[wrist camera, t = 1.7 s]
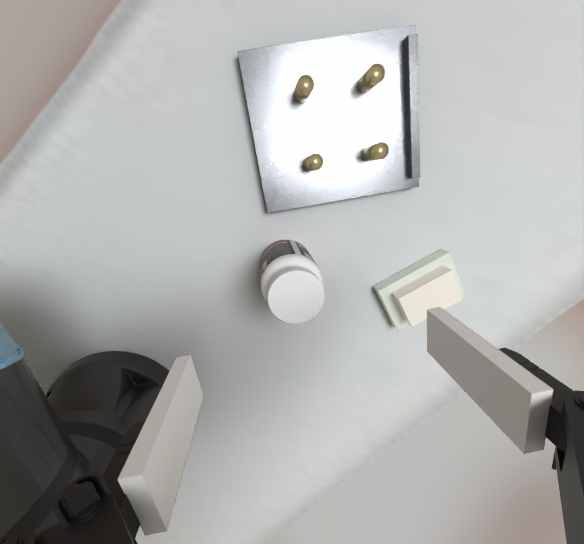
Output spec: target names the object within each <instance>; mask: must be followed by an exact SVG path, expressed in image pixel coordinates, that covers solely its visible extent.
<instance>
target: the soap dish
mask: <svg viewBox="0 0 584 544" xmlns="http://www.w3.org/2000/svg"><path fill="white" fill-rule="evenodd" d="M373 287H374V289H375V291H376V293H377V295H378V297H379V299H380V301H381V303H382V305H383V307H384V309H385V311H386V313H387V315H388V317H389V319H390V321H391V323H392V325H393V326H394V327H395V328H396V330H397V331H398V330H400V329H402V328H404V327H406V326H408V325H411V326H414V325H416V324H418V323H420V322H421V321H423V320H425V319H427V309H431V308H437V307H441V308H442V309H446V308H448V307H450V306H451V305H453V304H455V303H457V302H459V301H461V300H463V298H462V296H464V295H466V294H465V291H464V289H463V286H462V283H461V281H460V278H459V275H458V273H457V270H456V267H455V265H454V262H453V259H452V257H451V254H450V252H448V251H446V250H443V249H440V250H438V251H436V252H435V253H433V254H431V255H429V256H427V257H425V258H424V259H422V260H420V261H418V262H416V263H415V264H413V265H411V266H409V267H407V268H405V269H404V270H402V271H400V272H398V273H396V274H394V275H393V276H391V277H389V278H387V279H385V280H384V281H382V282H380V283H378V284H376V285H374V286H373Z"/></svg>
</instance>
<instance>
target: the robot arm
mask: <svg viewBox="0 0 584 544" xmlns="http://www.w3.org/2000/svg"><path fill="white" fill-rule="evenodd" d="M427 352H428V353H429V354H430V355H431V356H432V357H433V358H434V359H435V360H436V361H437V362H438V363H439V364H440V365H441V367H442V368H443V369H444V370H445V371H446V372H447V373H448V374H449V375H450V376H451V377H452V378H453V379H454V380H455V381H456V382H457V383H458V385H459V386H460V387H461V388H462V389H463V390H464V391H465V392H466V393H467V394H468V395H469V396H470V397H471V398H472V399H473V400H474V401H475V403H477V405H478V406H479V407H480V408H481V409H482V410H483V411H484V412H485V413H486V414H487V415H488V416H489V417H490V418H491V419H492V421H493V422H495V424H496V425H497V426H498V427H499V428H500V429H501V430H502V431H503V432H504V433H505V434H506V435H507V436H508V437H509V438H510V440H511V441H513V443H514V444H515V445H516V446H517V447H518V448H519V449H520V450H521V451H522V452H523V453H524V454H525V453H530V452H535V451H540V450H544V445H545V439H546V437H547V438H548V439H549V440H550V441H551V442H552V443H553V444H554V445H555V446H556V448H555V453H554V459H553V464H552V469H555V470H556V468H557V475H558V482H559V489H560V497H561V504H562V511H563V519H564V526H565V533H566V540H567V544H584V391H573V390H571V389H570V388H569V387H567V386H566V385H564V384H563V383H561V382H560V381H558V380H557V379H555V378H554V377H552V376H551V375H550V374H548V373H547V372H545V371H544V370H542V369H539V367H538V366H536V365H535V364H534V363H532V362H530V361H529V360H528V359H526V358H525V357H523V356H522V355H521V354H519V353H517V352H514V351H512V350H509V349H507V348H501V349H497V348H496V347H495V346H493V345H492V344H490V343H489V342H488V341H486V340H485V339H484V338H482V337H481V336H480V335H478V334H477V333H475V332H474V331H473V330H471V329H470V328H469V327H467V326H466V325H464V324H463V323H462V322H460V321H459V320H458V319H456V318H455V317H453V316H452V315H451V314H449V313H448V312H447V311H445V310H444V309H442V308H441V307H437V308H431V309H427ZM24 354H25V351H24V349H23V347H22V346H20V345H18V344H17V343H15V342H14V341H13V339H12V338H11V336H10V335H9V333H8V332H7V330H6V329H5V327H4V326H3V324H2V323H1V321H0V544H137V542H136V540H135V537H136V534H137V531H138V528H139V526H141V528H142V530H143V532H144V534H145V535H150V534H154V533H159V532H164V531H167V529H168V525H169V522H170V518H171V514H172V511H173V507H174V503H175V500H176V496H177V492H178V489H179V485H180V481H181V478H182V474H183V470H184V467H185V463H186V459H187V456H188V452H189V448H190V445H191V441H192V437H193V434H194V430H195V426H196V423H197V419H198V415H199V411H200V408H201V404H202V400H203V397H204V395H203V392H202V389H201V386H200V383H199V380H198V376H197V373H196V370H195V367H194V364H193V361H192V358H191V355H187V356H182V357H177V358H176V359H175V361H174V363H173V365H172V368H171V370H170V372H169V371H168V370H167V369H165V368H164V367H163V366H161V365H160V364H158V363H157V362H155V361H153V360H151V359H149V358H146V357H144V356H141V355H137V354H133V353H128V352H117V351H112V352H102V353H97V354H93V355H89V356H87V357H84V358H82V359H80V360H78V361H77V362H75V363H74V364H72V365H71V366H70V367H69V368H68V369H67V370H66V371H65V372H64V373H63V374H61V375H60V376H59V377H58V378H57V379H56V381H55V382H54V383H53V384H52V385H51V387H50V388H49V390H48V392H47V393H46V396H45V394H44V393H43V391H42V389H41V387H40V386H39V384H38V382H37V381H36V379H35V377H34V376H33V374H32V372H31V370H30V369H29V367H28V365H27V364H26V362H25V360H24V359H23V356H24Z"/></svg>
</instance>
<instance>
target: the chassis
mask: <svg viewBox="0 0 584 544" xmlns="http://www.w3.org/2000/svg"><path fill="white" fill-rule="evenodd" d="M237 52H238V57H239V63H240V68H241V74H242V79H243V84H244V90H245V95H246V100H247V106H248V111H249V117H250V122H251V127H252V133H253V138H254V143H255V149H256V154H257V160H258V165H259V170H260V176H261V181H262V186H263V192H264V197H265V203H266V208H267V213H271V212H276V211H282V210H288V209H294V208H299V207H305V206H311V205H316V204H322V203H328V202H333V201H339V200H345V199H351V198H356V197H362V196H368V195H373V194H379V193H385V192H390V191H396V190H402V189H408V188H413V187H419V177H420V148H419V92H418V36H417V33H416V24H415V25H408V26H402V27H395V28H388V29H382V30H375V31H368V32H362V33H355V34H348V35H342V36H335V37H329V38H322V39H315V40H309V41H302V42H295V43H289V44H282V45H275V46H269V47H262V48H255V49H249V50H242V51H237Z"/></svg>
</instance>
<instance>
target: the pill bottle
mask: <svg viewBox="0 0 584 544" xmlns="http://www.w3.org/2000/svg"><path fill="white" fill-rule="evenodd" d="M260 280H261V283H260V284H261V292H262V295H263V297H264V299H265V301H266V302H267V303H268V305H269V308H270V310H271V312H272V313H273V314H274V316H275V317H277V318H278V319H279V320H281V321H283V322H286V323H290V324H300V323H304V322H307V321H309V320H311V319H312V318H314V317H315V316H316V315H317V314H318V313H319V312H320V310H321V308H322V306H323V303H324V298H325V293H324V288H323V277H322V274H321V271H320V269H319V267H318V266H317V264H316V263H315V261H314V260H313V258H312V257H311V255H310V254H309V252H308V251H307V249H306V248H305V247H304V246H303V245H301V244H300V243H298V242H296V241H293V240H280V241H277V242H275V243H273V244H271V245H270V246H269V247H268V248H267V249H266V250H265V251H264V253H263V255H262V258H261V262H260Z"/></svg>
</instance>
